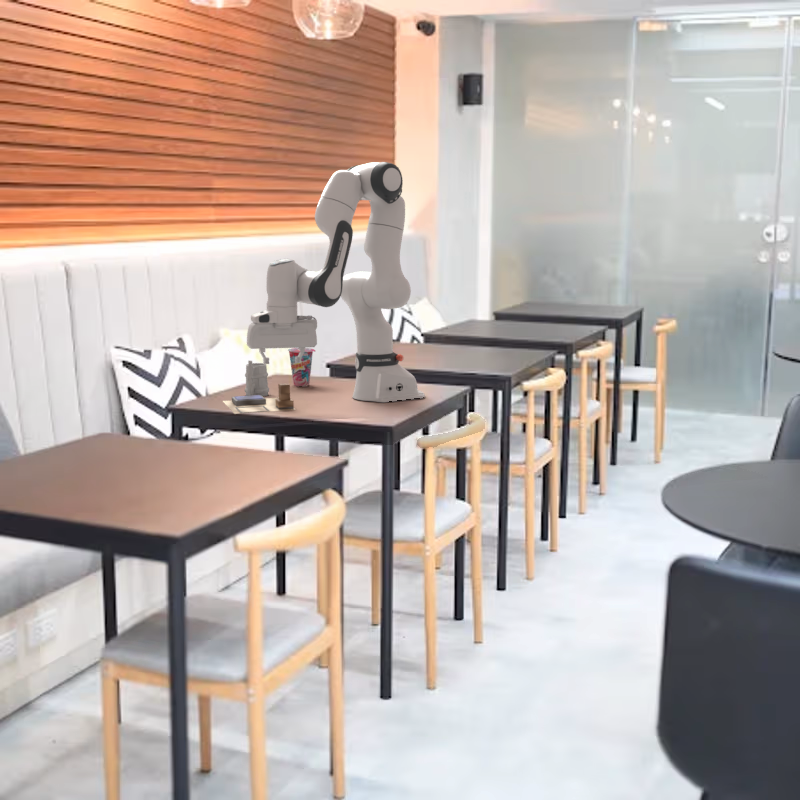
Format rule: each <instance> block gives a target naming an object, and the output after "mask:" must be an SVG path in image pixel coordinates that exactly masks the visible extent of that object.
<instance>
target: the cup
mask: <svg viewBox="0 0 800 800" xmlns="http://www.w3.org/2000/svg"><path fill="white" fill-rule="evenodd" d="M287 351H288V353H289V360H290V368H291V374H292V375H291V376H292V382H293V386H294V385H295V386H294V387H299V386H302V387H308V386H307V385H309V386H310V383H311V381H310V380H311V372H312V362H313V353H314V352H316V350H315V349H314V348H311V347H305V352H304V354H303V356H302V357H301V363H295V357H298V355H299V353H300V351H299V348H288V350H287Z"/></svg>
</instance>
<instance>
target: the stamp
mask: <svg viewBox="0 0 800 800" xmlns="http://www.w3.org/2000/svg"><path fill="white" fill-rule="evenodd" d="M278 398H279V399H276V408H278V409H279V410H280V409H294V408H295V407H294V405H295V403H294V399H292V398H291V384H290V383H287V382H284V383H278Z"/></svg>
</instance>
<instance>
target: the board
mask: <svg viewBox="0 0 800 800" xmlns="http://www.w3.org/2000/svg"><path fill="white" fill-rule="evenodd" d="M276 399H279V397H265V396H264V397H263V396H262V395H253V396H246V395H241V396H240V395H239V396H238V395H237V396H231V400H222V403H224V405H225V406H226V407H227V408H228V409H229V410H230V411H231V412H232V413H233V414H234V415H236V414H237V415H238V414H251V413H252V414H253V413H255V414H256V413H266V412H268V413H269V412H284V411H296V410H297V408H295V407H294V409H280V410H279V409H278V408H276Z"/></svg>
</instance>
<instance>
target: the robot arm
mask: <svg viewBox="0 0 800 800" xmlns="http://www.w3.org/2000/svg"><path fill="white" fill-rule="evenodd" d="M402 193H403V175H402V171H401V169H400V167H398V166H397V165H396V164H394V163H391V162H387V161H381V162H379V161H378V162H375V161H373V162H368V163H363V164H360V165H358V164H356V165H354V166H350V167H349V168H348V169H339V170H336V171H335V172H334V173H333V174H332V175H331V177H330V178H329V179H328V181H327V183H326V185H325V186H324V189H323V191H322V192H321V195H320V197H319V200H318V203H317V206H316V208H315V211H314V212H315V213H314V220H315V224H316V226H317V228H318V229H319V230H320V231H321V232H322V233H323V234H325V235H326V236H327V237H328V239H329V246H328V249H327V254H326V257H325V260H324V264H323V267H322V268H321V269H320V270H319V271H316V270H309V269H307V268H305V267H302V266H301V265H299V264H298V263H296V261H295V260H294V259H291V258H283V259H281V258H280V259H276V260H273V261H272V262H270V263H269V265H268V267H267V271H266V294H267V301H266V309H264V310H261V311H258V312H255V313H253V314H251V315H250V321H251V323H250V324H249V325H248V328H247V333H246V346H247V347H248V348H249V349H250V350H251V349H252V350H253V349H254V350H255V349H256V350H257V349H258V350H259V352H258V353H259V354H260V355H261V357H262V363H263V364H266V365H270V357H267V356H266V355H265V353H266V349H294V348H299V351H300V353H299V355H298V357H295V363H301V357H302V356H303V354H304V352H305V348H315V347H316V346H317V345H318V337H317V328H318V320H317V318H316V317H315V316H312V315H298V303H300V304H301V303H302V304H307V305H315V306H319V307H322V308H330V307H332V306H334V305H335V304H337V303H338V301H339V300H340V298H341V299H342V301H344V302H345V304H346V305H347V306H348V308H349V310H350V312H351V315H352V317H353V319H354V324H355V325H354V326H355V328H356V329H355V330H356V353H355V370H356V377H355V383H354V384H355V386H354V390H353V393H352V399H355V400H358V401H366V402H377V403H388V402H389V401H392V402H398V401H397V400H402V401H407V400H406V399H411V400H415V399H414V398H420V399H424V398H426V396H425V393H424V391H422V390H420V389H418V382H417V380H416V378H415V376H414V375H413V374H412V373H411V372H410V371H408V370H407V369H406V368H404V367H403V366H402V365H401V364H400V363H399V362H402V361H403V360H404V355H402V354H401V353H396V352H394V349H393V347H394V344H393V343H394V342H393V340H394V339H393V338H394V337H393V335H394V333H393V332H394V331H393V327H392V325H391V323H389V322H388V320H386V319H385V317H384V314H383V310H393V309H394V310H395V309H398V308H403V307H404V306H406V304H408V302H409V300H410V297H411V291H412V290H411V285H410V282H409V281H408V279H407V277H406V276H405V275H404V273H403V271H402V270H403V269H402V266H401V258H400V257H401V246H402V240H403V235H404V228H405V222H406V202H405V200H404V198H403V196H401V195H402ZM360 201H368V202H369V205H370V213H369V217H368V222H367V223H368V224H367V228H366V229H367V230H366V233H365V241H364V244H363V250H364V252H365V254H366V255H367V256H368V257H369V258H370V261H371V271H365V270H364V271H362V270H359V271H354V272H349V273H347V274H345V271H346V267H347V262H348V257H349V254H350V251H351V247H352V242H353V241H352V240H353V236H354V235H353V234H354V231H353V227H352V223H353V218H354V216H355V213H356V210H357V208H358V207H357V206H358V204H359V202H360ZM423 397H424V398H423ZM389 403H390V402H389Z"/></svg>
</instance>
